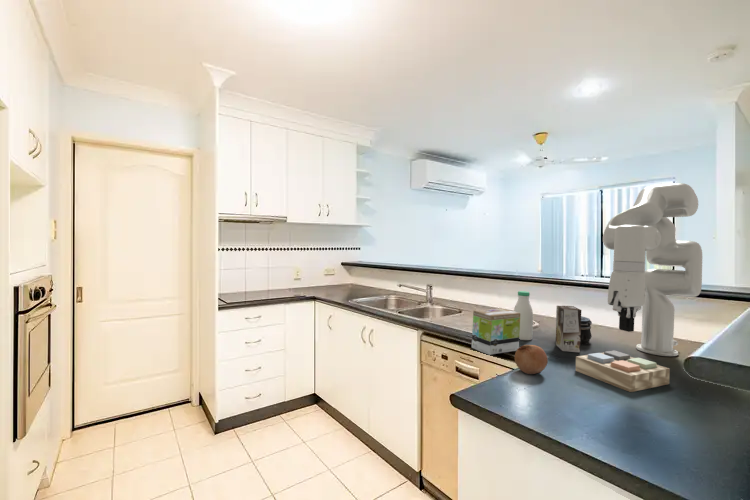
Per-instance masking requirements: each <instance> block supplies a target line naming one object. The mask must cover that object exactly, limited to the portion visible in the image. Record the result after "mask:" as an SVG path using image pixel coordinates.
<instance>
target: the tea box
mask: <svg viewBox="0 0 750 500" xmlns="http://www.w3.org/2000/svg"><path fill="white" fill-rule="evenodd" d="M471 332H472V333H471V348H472V349H473V350H476V351H479V352H481V353H483V354H486V355H488V356H492V355H496V354H503V353H510V352H516V351H517V349H518V348H520V340H519V332H520V313H518V312H514V310H509V309H506V308H502V307H500V308H490V309H475V310H473V315H472V331H471Z"/></svg>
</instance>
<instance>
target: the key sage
mask: <svg viewBox="0 0 750 500" xmlns="http://www.w3.org/2000/svg"><path fill="white" fill-rule="evenodd" d="M628 362H630V363H633V364H636V365H639V366H640V368H643V369H651V368H656V365H657V362H655V361H651V360H648V359H645V358H641V357H633V359H628Z"/></svg>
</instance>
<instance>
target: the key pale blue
mask: <svg viewBox="0 0 750 500" xmlns="http://www.w3.org/2000/svg"><path fill="white" fill-rule="evenodd" d="M601 353H602V352H595V353H594V352H593V353H588V354H587V355H588V359H591V360H594V361H596V362H599V363H602V364H605V363H611V362H614V357H611V356H608V355H604V354H601Z"/></svg>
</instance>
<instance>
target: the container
mask: <svg viewBox="0 0 750 500" xmlns="http://www.w3.org/2000/svg"><path fill="white" fill-rule="evenodd" d="M592 324H593V323H592V320H591V319H590V318H589V317H586V316H582V315H581V335H580V346H582V345H583V346H585V345H588V344H590V340H591V338H592V336H593V335H592V331H591V328H592V326H591V325H592Z"/></svg>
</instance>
